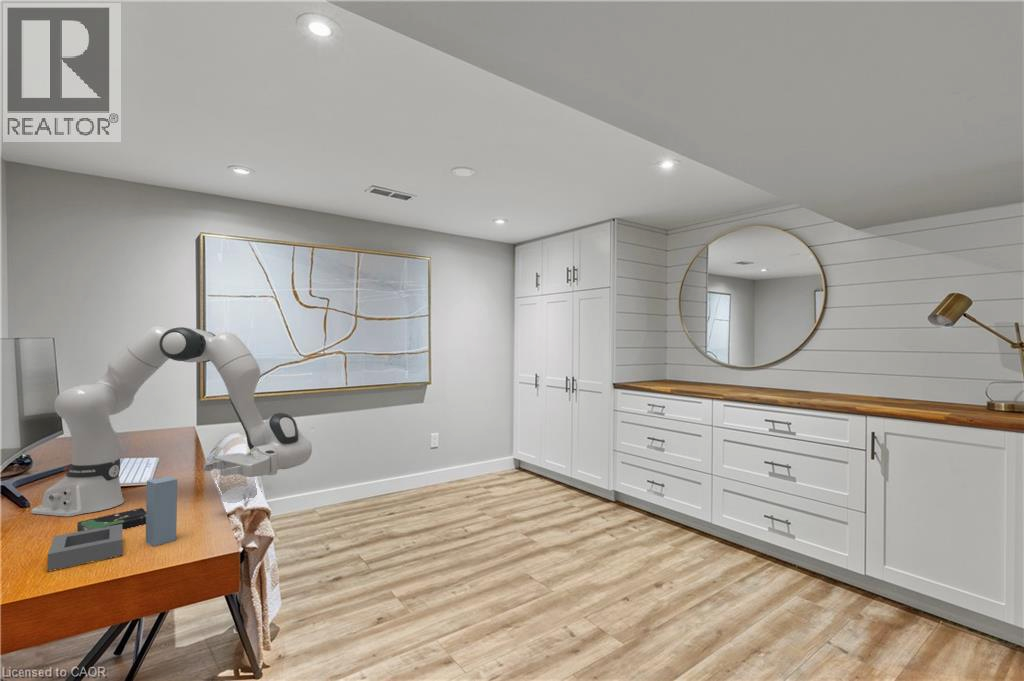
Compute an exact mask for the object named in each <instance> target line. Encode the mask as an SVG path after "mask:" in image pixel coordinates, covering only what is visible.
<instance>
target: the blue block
mask: <svg viewBox="0 0 1024 681" xmlns="http://www.w3.org/2000/svg"><path fill="white" fill-rule="evenodd" d="M145 495H146V496H145V497H146V501H145V502H146V503H145V508H146V509H145V511H146V524H145V543H146V542H147V543H146V544H148V543H149V544H148V545H149V546H152V547H153V546H155V547H158V546H161V545H164V543H165V544H168V543H171V542H174V540H175V541H177V522H178V521H177V520H178V519H177V518H178V517H177V516H178V515H177V514H178V513H177V512H178V510H177V509H178V479H177V478H174V477H172V476H170V475H167V476H164V477H158V478H153V479H148V480H146V494H145ZM167 542H168V543H167ZM160 544H161V545H160ZM157 545H158V546H157Z"/></svg>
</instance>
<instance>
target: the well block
mask: <svg viewBox="0 0 1024 681" xmlns="http://www.w3.org/2000/svg"><path fill="white" fill-rule="evenodd" d="M123 539H124V538H123V530H122V524H119V525H113V526H107V527H102V528H96V529H91V530H85V531H80V532H79V531H75V532H69V533H64V534H58V535H54V536H53V538H52V541H51V544H50V547H49V550H48V552H47V571H50V570H54V569H60V568H64V569H67V568H66V567H69V568H72V567H71V566H74V567H76V566H75V565H78V564H83V563H86V562H91V561H97V560H101V561H103V560H102V559H106V560H108V559H107V558H111V557H115V556H120V555H122V556H123ZM120 557H121V556H120ZM115 558H116V557H115ZM111 559H112V558H111ZM97 562H98V561H97ZM83 565H84V564H83ZM78 566H79V565H78ZM60 570H61V569H60ZM47 571H46V572H47ZM50 572H51V571H50Z"/></svg>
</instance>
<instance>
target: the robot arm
mask: <svg viewBox="0 0 1024 681" xmlns="http://www.w3.org/2000/svg"><path fill="white" fill-rule="evenodd" d="M255 358H256V357H254V355H253V354H252V353H251V351H250V349H249V348H248V347H247V346H246V344H245V343H244V342H243V341H242V340H241V339H240V338H239V337H238V336H237V335H236V334H235V333H232V332H221V333H218V334H215V333H213V332H210V331H206V330H203V329H201V328H200V329H198V328H189V327H184V326H183V327H174V328H168V327H165V326H161V325H156V326H153V327H150V328H149V329H146V330H145V331H144V332H143V333H141V334H140V335H139V336H137V337H136V338H135V339H133V340H132V341H130V343H128V344H127V345H126V346H125V348H123V349H122V350H121V351H120V352H118V353H117V355H115V357H113V358H112V359H111V361H109V362H108V364H107V370H106V372H105V374H104V376H102V377H101V379H100V380H98V381H96V382H94V383H87V384H80V385H75V386H73V387H70V388H68V389H65V390H63V391H62V392H61V393H59V394H58V395H57V397H56V398H55V400H54V405H53V406H54V410H55V413H56V414H57V416H59V417H60V418H61V419H63V420H64V422H65V423H66V425H67V428H68V429H69V433H70V436H71V442H72V443H71V446H72V447H71V448H72V455H71V456H72V457H71V461H72V462H71V464H69V465H67V466H62V468H63V469H62V471H63V472H64V471H66V474H65V476H64V477H63V478H61V479H60V480H58V481H57V482H56V483H55V484H53V485H51V486H50V487H49V488H47V489H46V490H45V491H44V494H43V496H42V500H41V504H40V505H37V506H35V507H33V508H31V510H30V514H35V515H36V514H37V515H45V516H46V515H48V516H58V517H65V518H67V517H68V518H69V517H74V516H79V515H82V514H89V513H95V512H100V511H105V510H108V509H112V508H115V507H118V506H120V505H121V504H123V503H124V502H125V499H124V496H123V493H122V488H121V480H120V471H121V458H120V457H119V453H120V452H119V450H120V446H119V444H120V435H119V433H118V432H116V430H114V428H113V426H112V423H111V419H110V416H112V415H117V414H120V413H121V412H123V411H125V410H126V409H128V408H129V407H131V405H132V404H133V402H134V400H135V396H136V395H137V392H138V391H139V390H140V389H141V388H142V386H143V385H144V384H145V382H147V380H149V378H151V377H152V376H153V375H154V374H155V373H156V372H157V371H158V370H159V369H160V368H161V367H162V366H163V365H164V364H165V363H166V362H167V361H169V359H170V360H172V361H176V362H184V363H208V362H211V363H212V364H213V366H214V367H215V369H216V371H217V372H218V373H219V375H220V377H221V379H222V381H223V383H224V385H225V387H226V390H227V393H228V397H229V401H230V403H231V405H232V407H233V411H234V412H235V414H236V416H237V418H238V420H239V422H240V425H241V426H242V428H243V430H244V432H245V436H246V444H247V447H248V449H249V450H250V451H249V452H247V453H242V452H236V453H235V452H234V453H229V454H221V455H217V456H215V457H214V458H213V459H214V460H213V461H212V462H210V463H206V464H204V465H203V471H204V472H205V471H206V472H210V471H213V470H216V469H217V470H220V472H219V474H220V476H222V477H225V476H232V475H239V476H243V477H246V478H254V477H261V476H275V475H277V474H278V471H280V470H288V469H289V470H290V469H292V468H295V467H299V466H301V465H303V464H305V463H306V462H308V460H309V459H310V458H311V455H312V453H313V447H312V443H311V441H310V439H308V438H306V437H305V436H303V434H302V432H300V430H299V427H298V425H297V422H296V420H295V418H294V417H293V416H292V415H290V414H287V413H284V412H278V413H274V414H273V415H271V416H270V417H269V418H268V419H267V420H266V421H264V420H263V417H262V415H261V413H260V412H259V410H258V407H257V405H256V403H255V393H256V388H257V386H258V383H259V381H260V377H261V370H260V369H261V368H260V366H259V363H258V361H257V360H256V359H255Z"/></svg>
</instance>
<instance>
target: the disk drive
mask: <svg viewBox="0 0 1024 681" xmlns="http://www.w3.org/2000/svg"><path fill="white" fill-rule="evenodd" d="M119 524H122V529H125V530H128V529H127V528H129V529H132V528H131V527H133V528H136V526H137V527H140V526H139V525H141V526H144V524H145V525H146V510H145V509H144V508H143V507H140V508H135V509H131V510H127V511H125V510H124V511H121V512H117V513H113V514H108V515H104V516H99V517H95V518H89V519H86V520H81V521H77V526H76V527H77V532H80V531H85V530H91V529H96V528H102V527H107V526H113V525H119Z"/></svg>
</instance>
